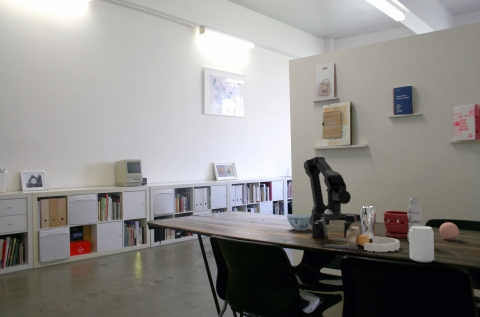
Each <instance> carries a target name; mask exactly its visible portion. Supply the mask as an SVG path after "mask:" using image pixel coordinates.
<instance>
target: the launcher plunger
mask: <svg viewBox="0 0 480 317" xmlns="http://www.w3.org/2000/svg"><path fill="white" fill-rule="evenodd" d="M360 235H361V227H360V226H352V227H349V229H348V230H347V235H346V239H347V242H346V246H356V247H358V245H359V244H358V242H357V238H358V237H359V236H360Z"/></svg>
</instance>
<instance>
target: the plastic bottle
mask: <svg viewBox="0 0 480 317" xmlns="http://www.w3.org/2000/svg"><path fill="white" fill-rule="evenodd" d="M406 212H407V215H408V222H409V223H408V224H409V226H408V235H407V237H406V238H407V241H408V242H409V230H410V228H411V226H422V218H423V209H422V207H421V205H420V201H419V198H418V197H414V198H413V197H410V198H409V205H408V207H407V209H406Z"/></svg>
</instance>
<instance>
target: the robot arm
mask: <svg viewBox="0 0 480 317" xmlns="http://www.w3.org/2000/svg"><path fill="white" fill-rule="evenodd" d="M303 168H304V170H305V174H306V175H307V176H308V178H309V183H310V188H311V195H312V201H313V207H312V210H311V214H310V215H311V217H310V219H309V224H310V226H311V231H312V232H311V233H312V235H311V236H310V237H311V239H312V238H313V239H326V238H328V237H329V236H328V227H327V226H329V225H330V222H331V221H332V222H334V221H345V222H343V224H344V226H343V227H344V229H343V230H344V231H343V232H344V233H343V239H347V230H348V229H350V228H351V225H352V224H354V223H356V222H357V221H358V216H357V215H356V214H346V215H342V205H346V204H349V203H350V201H351V199H352V197H351V194H350V192H349V191H348V190H347V189H348V188H347V184H346V182H345V181H344V177H343V176H342V175H341V174H340V173H339V172H338V171H335V170H333V168H332V167H331V166H330V165H329V163H328V162H327V161H326V158H325V157H324V156H315V157H313V158H310V159H306V160H305V161H304V162H303ZM321 174H322V176H323V182H324V185H325V186H326V188H327V189H326V190H325V191H326V192H327V204H325V203H324V197H323V196H324V195H323V191H322V185H321V179H320V175H321Z"/></svg>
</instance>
